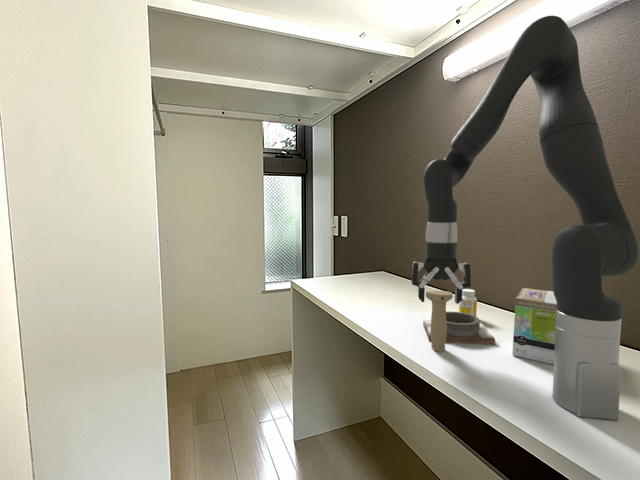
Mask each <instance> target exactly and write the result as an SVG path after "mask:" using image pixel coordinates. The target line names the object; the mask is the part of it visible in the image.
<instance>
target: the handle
mask: <svg viewBox="0 0 640 480" xmlns="http://www.w3.org/2000/svg"><path fill="white" fill-rule="evenodd" d="M453 296H454V295H453V293H452V292H451V291H446V290H430V291H428V290H427V291H426V292H425V297H426V298H427V299H428V300H429V301H431V315H430V316H431V318H430V320H431V330H430V333H431V341H430V342H431V348H432V349H433V351H435V352H436V351H437V352H442V351H445V349H446V345H445V344H446V343H447V342H446V335H447V323H446V312H447V302H449V301H451V300H453Z"/></svg>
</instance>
